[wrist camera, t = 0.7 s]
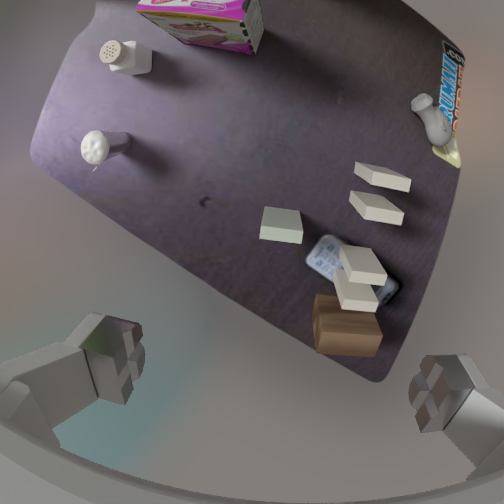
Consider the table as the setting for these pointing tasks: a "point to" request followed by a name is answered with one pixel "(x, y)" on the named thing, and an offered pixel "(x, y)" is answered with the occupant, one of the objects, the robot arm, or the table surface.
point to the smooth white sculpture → (432, 120)
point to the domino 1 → (281, 225)
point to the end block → (344, 329)
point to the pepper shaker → (127, 57)
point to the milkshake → (104, 146)
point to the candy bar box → (209, 22)
